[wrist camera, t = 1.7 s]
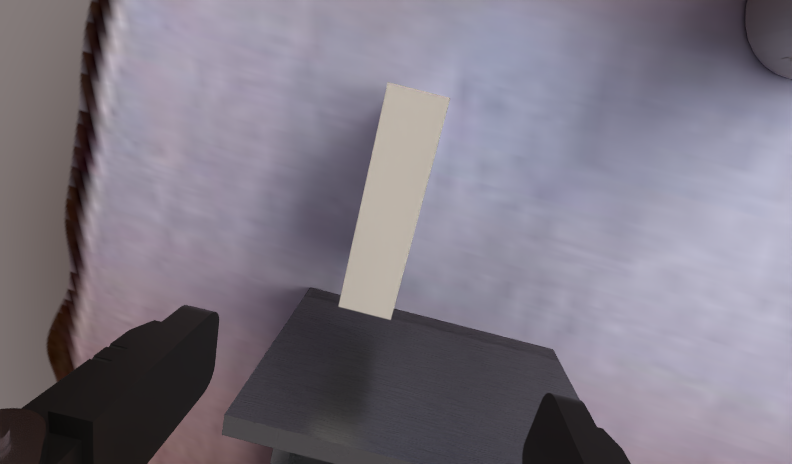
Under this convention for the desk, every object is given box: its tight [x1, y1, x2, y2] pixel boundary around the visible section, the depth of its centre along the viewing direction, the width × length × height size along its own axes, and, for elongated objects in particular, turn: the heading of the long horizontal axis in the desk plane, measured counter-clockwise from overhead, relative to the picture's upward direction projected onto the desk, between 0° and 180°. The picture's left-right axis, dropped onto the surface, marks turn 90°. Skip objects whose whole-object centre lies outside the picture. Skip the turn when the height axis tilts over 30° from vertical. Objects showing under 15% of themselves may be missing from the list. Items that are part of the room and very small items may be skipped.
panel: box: [338, 82, 450, 320], centre depth 24 cm, size 12×3×9 cm, turn 166°
